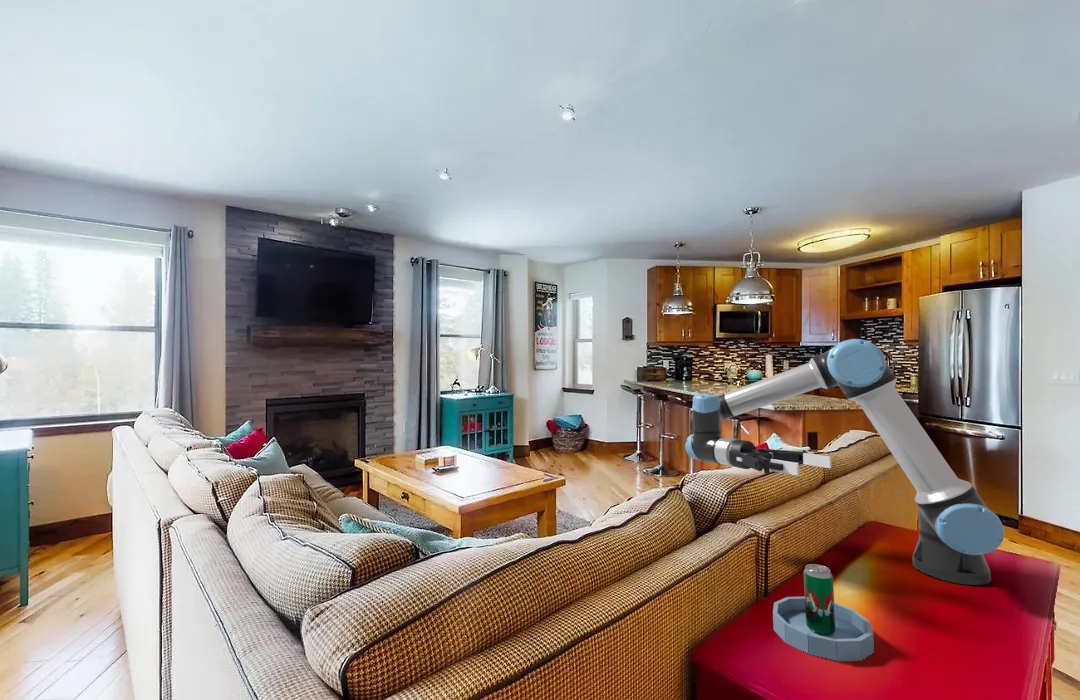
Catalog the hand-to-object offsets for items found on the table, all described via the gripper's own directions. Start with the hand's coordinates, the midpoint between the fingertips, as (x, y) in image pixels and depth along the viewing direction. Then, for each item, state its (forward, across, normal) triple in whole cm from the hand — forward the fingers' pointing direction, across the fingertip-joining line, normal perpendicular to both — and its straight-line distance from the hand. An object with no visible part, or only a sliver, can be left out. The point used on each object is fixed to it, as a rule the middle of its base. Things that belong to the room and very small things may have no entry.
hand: (815, 465), depth 111 cm
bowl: (+9, +16, -30) cm, 35 cm away
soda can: (+9, +16, -29) cm, 34 cm away
